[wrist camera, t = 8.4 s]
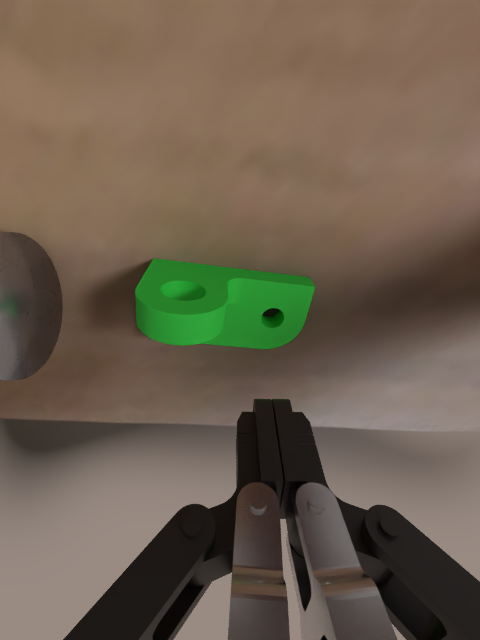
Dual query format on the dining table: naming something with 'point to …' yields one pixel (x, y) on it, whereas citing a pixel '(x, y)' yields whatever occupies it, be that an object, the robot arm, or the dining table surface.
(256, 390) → the dining table surface
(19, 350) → the grey mushroom knob
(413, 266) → the dining table surface
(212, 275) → the mechanical part
